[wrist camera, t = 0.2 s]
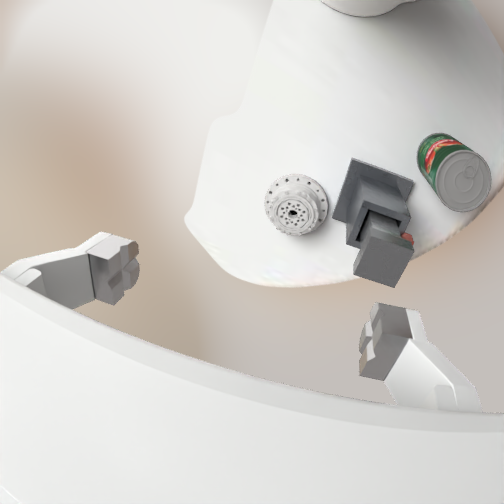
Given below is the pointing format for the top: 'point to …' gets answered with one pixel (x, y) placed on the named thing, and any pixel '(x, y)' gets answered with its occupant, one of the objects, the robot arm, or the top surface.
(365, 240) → the column
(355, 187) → the grey hollow housing
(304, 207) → the mechanical component
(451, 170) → the canned tomato
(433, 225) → the top surface
